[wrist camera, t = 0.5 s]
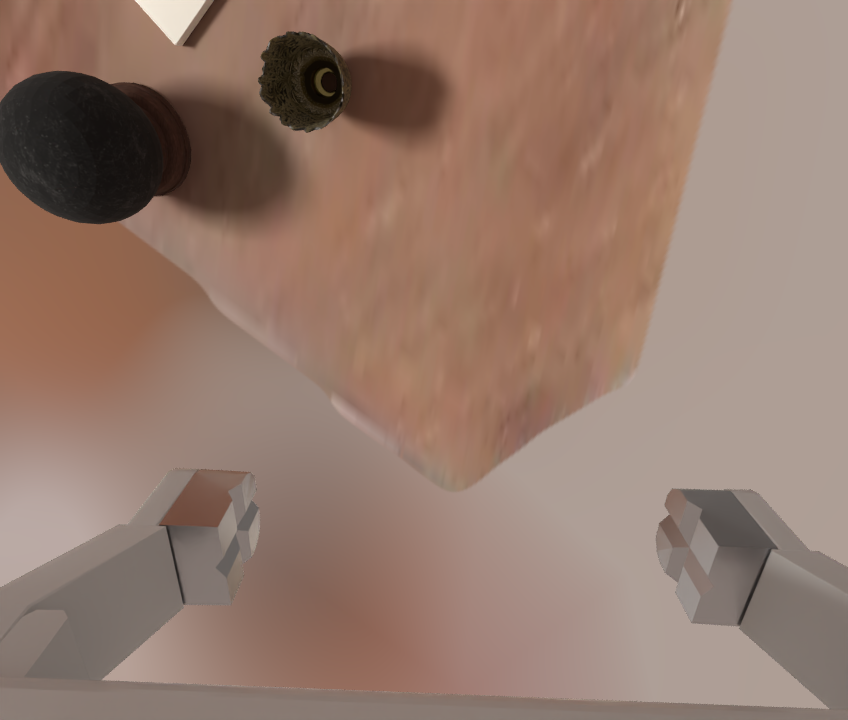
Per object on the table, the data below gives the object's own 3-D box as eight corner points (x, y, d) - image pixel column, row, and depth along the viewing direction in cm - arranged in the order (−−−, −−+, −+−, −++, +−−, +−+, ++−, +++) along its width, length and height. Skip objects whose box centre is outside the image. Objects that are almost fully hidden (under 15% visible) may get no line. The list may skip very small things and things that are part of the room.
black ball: (193, 221, 59) (101, 262, 46) (84, 178, 58) (-40, 208, 46) (206, 99, 52) (103, 108, 39) (82, 50, 52) (-63, 42, 39)
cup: (304, 22, 47) (268, 13, 41) (377, 57, 48) (353, 54, 41) (285, 105, 51) (248, 110, 44) (352, 137, 52) (327, 146, 45)
